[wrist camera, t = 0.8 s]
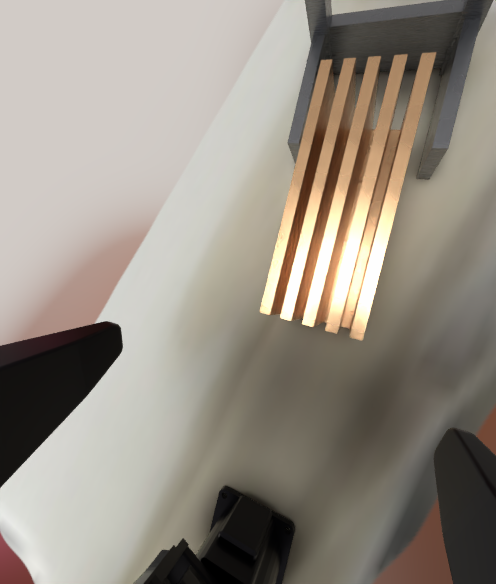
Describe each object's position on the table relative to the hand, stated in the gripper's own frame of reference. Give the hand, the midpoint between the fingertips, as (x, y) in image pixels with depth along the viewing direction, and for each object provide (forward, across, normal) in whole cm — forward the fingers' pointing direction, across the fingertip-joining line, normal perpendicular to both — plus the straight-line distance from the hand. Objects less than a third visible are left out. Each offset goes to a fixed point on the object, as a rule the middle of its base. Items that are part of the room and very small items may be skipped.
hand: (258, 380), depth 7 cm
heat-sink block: (+17, -2, -1) cm, 17 cm away
